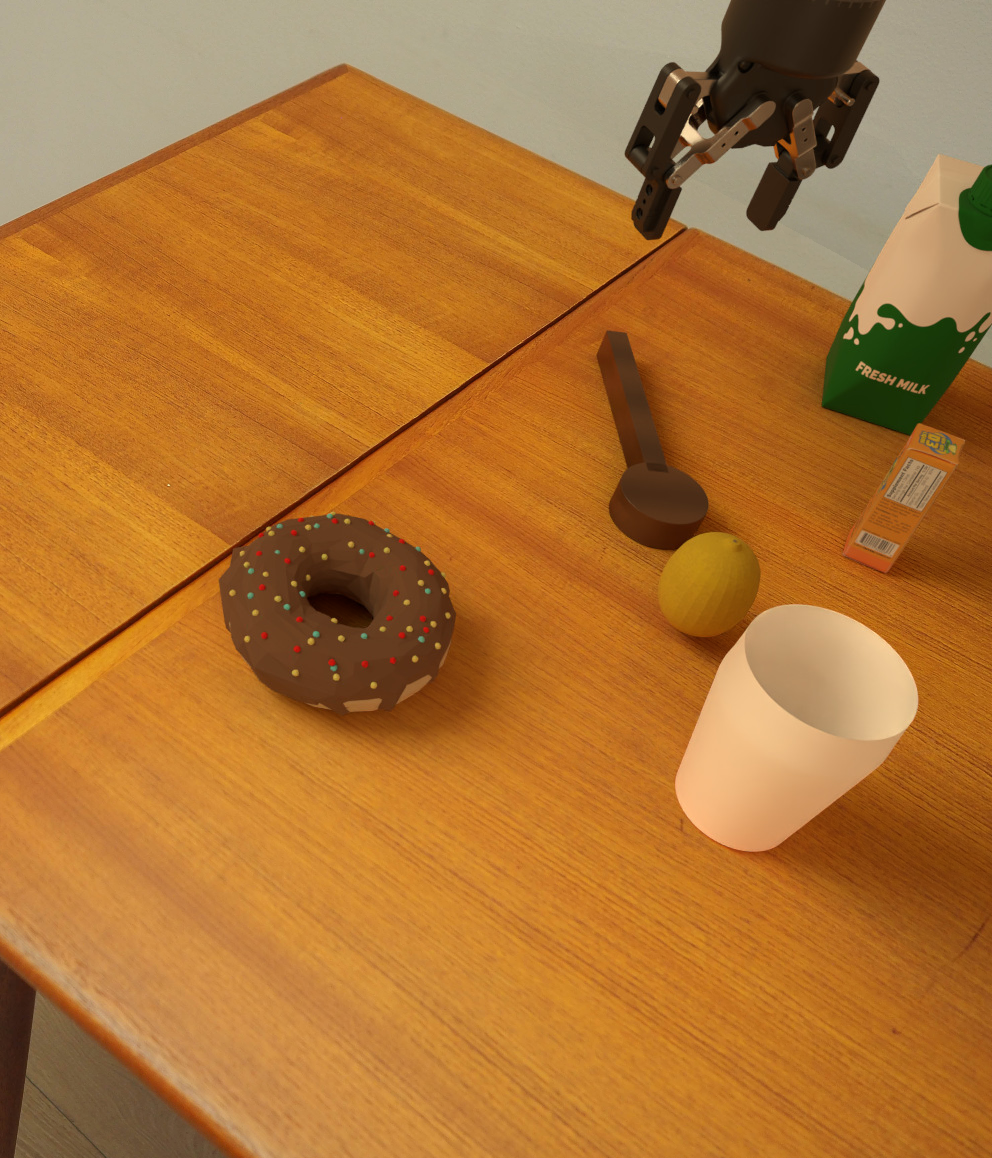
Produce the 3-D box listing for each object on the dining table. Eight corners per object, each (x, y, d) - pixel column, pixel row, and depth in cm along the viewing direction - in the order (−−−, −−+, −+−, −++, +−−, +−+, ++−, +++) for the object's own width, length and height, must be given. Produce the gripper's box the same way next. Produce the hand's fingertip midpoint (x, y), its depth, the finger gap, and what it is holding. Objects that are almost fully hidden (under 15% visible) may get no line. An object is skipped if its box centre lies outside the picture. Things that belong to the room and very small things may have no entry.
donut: (327, 524, 85) (342, 467, 82) (487, 655, 79) (511, 600, 76) (161, 622, 78) (170, 564, 74) (324, 775, 72) (341, 721, 68)
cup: (622, 792, 74) (707, 658, 65) (704, 711, 78) (793, 575, 70) (762, 903, 70) (872, 776, 61) (839, 810, 75) (951, 680, 66)
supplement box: (846, 527, 92) (919, 417, 84) (894, 549, 91) (973, 440, 83) (835, 554, 90) (910, 444, 82) (885, 577, 89) (965, 468, 81)
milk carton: (808, 410, 101) (946, 175, 86) (815, 347, 107) (945, 118, 92) (924, 447, 99) (1084, 216, 85) (924, 381, 105) (1074, 155, 91)
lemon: (639, 648, 81) (688, 560, 75) (640, 586, 85) (688, 497, 79) (727, 672, 81) (784, 585, 75) (725, 608, 85) (779, 521, 79)
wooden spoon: (568, 351, 102) (578, 326, 100) (643, 360, 102) (654, 335, 101) (617, 544, 87) (629, 518, 86) (703, 553, 88) (718, 528, 86)
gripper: (753, -1, 66) (637, 272, 77) (971, -5, 70) (829, 254, 82) (674, -64, 70) (575, 203, 82) (883, -65, 75) (761, 189, 86)
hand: (702, 228), depth 82 cm, fingers open, 8 cm apart
